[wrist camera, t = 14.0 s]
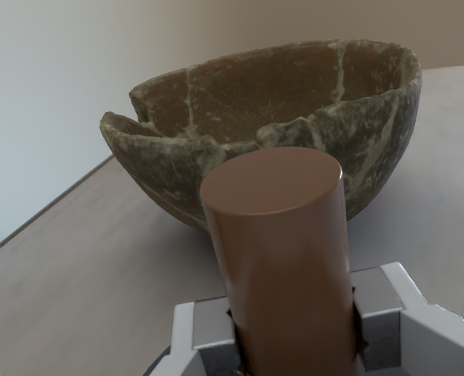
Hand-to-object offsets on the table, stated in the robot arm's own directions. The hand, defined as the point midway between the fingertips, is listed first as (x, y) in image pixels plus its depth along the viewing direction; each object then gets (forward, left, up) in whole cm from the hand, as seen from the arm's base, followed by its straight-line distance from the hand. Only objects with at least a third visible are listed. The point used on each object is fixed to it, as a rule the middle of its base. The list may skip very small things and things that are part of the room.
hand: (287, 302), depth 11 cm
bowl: (+17, +23, -16) cm, 33 cm away
